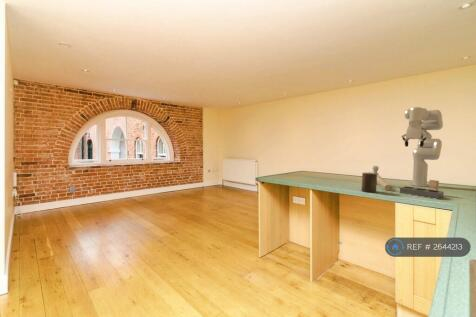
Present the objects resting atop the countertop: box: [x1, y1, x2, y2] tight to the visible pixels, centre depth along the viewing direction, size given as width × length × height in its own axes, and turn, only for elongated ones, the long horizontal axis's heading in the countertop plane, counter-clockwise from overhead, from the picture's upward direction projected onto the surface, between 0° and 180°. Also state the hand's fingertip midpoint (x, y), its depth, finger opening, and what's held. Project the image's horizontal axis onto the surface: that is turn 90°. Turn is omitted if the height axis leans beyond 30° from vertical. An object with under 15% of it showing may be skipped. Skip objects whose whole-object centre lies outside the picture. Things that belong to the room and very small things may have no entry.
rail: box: [399, 185, 445, 200], centre depth 160 cm, size 9×22×4 cm, turn 32°
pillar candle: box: [361, 171, 378, 194], centre depth 172 cm, size 10×10×15 cm
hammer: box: [371, 165, 392, 192], centre depth 188 cm, size 16×5×30 cm
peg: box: [428, 179, 440, 191], centre depth 161 cm, size 4×4×10 cm
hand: (413, 146), depth 176 cm, fingers open, 9 cm apart
